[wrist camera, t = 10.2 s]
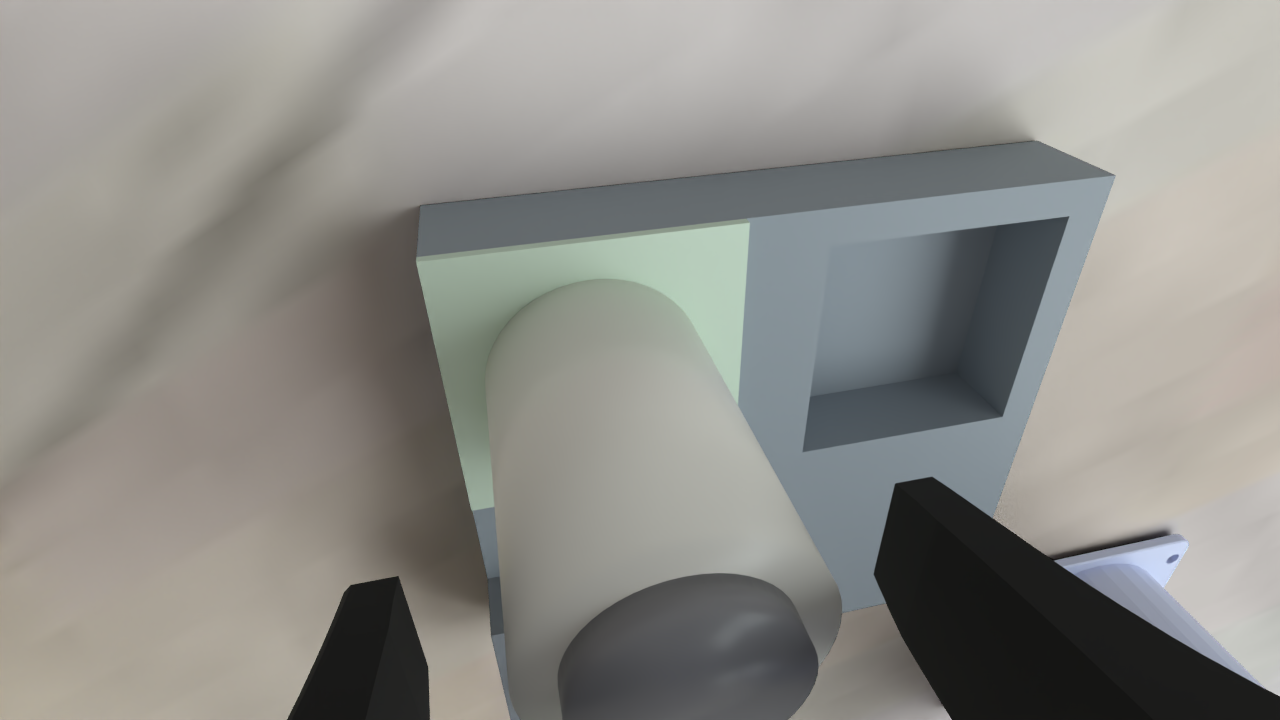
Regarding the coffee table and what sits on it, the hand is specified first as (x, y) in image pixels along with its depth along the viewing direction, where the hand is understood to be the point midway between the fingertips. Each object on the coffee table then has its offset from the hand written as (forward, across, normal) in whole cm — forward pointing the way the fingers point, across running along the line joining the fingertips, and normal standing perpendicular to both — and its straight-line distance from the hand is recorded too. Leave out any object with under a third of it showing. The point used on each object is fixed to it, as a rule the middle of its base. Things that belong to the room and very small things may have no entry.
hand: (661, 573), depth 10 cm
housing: (+8, -4, +3) cm, 9 cm away
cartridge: (+5, 0, 0) cm, 5 cm away
